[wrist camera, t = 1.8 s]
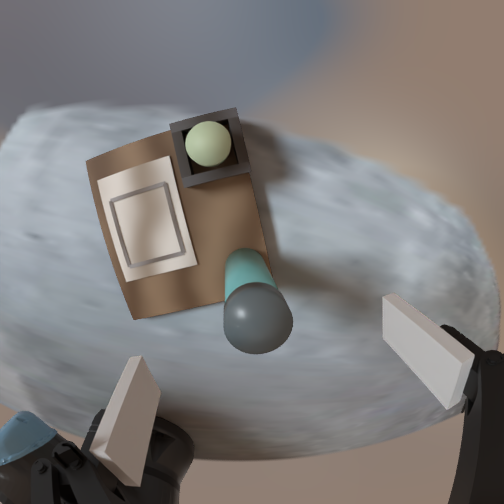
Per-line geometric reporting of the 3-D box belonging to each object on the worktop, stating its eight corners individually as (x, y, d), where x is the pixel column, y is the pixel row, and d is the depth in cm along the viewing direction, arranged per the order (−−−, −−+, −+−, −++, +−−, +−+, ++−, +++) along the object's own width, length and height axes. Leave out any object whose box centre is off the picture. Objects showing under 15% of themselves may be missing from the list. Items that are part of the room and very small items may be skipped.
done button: (194, 171, 23) (190, 170, 21) (186, 133, 23) (181, 127, 20) (234, 161, 24) (235, 158, 21) (225, 123, 23) (225, 116, 20)
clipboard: (136, 315, 29) (127, 330, 26) (90, 161, 25) (74, 159, 21) (273, 284, 30) (279, 297, 26) (234, 116, 25) (236, 107, 22)
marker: (229, 291, 28) (233, 360, 17) (219, 252, 27) (215, 303, 16) (269, 281, 28) (297, 344, 17) (260, 242, 27) (286, 286, 16)
